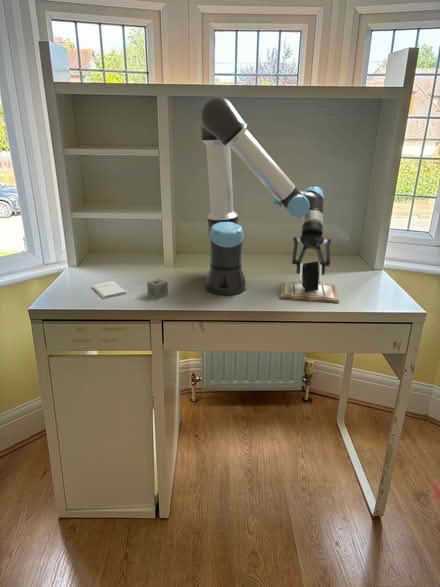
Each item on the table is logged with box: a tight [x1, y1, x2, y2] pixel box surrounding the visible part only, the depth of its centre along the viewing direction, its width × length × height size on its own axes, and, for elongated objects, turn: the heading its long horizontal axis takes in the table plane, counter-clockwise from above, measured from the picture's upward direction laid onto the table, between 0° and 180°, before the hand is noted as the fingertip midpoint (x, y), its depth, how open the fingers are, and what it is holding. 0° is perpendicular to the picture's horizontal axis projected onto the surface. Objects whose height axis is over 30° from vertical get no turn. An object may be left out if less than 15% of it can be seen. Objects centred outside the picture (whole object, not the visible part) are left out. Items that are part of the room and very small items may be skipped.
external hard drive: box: [91, 280, 127, 299], centre depth 151 cm, size 2×8×12 cm
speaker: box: [302, 260, 319, 292], centre depth 149 cm, size 8×6×10 cm
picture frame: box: [279, 280, 340, 304], centre depth 152 cm, size 20×15×1 cm
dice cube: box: [146, 278, 169, 300], centre depth 147 cm, size 5×5×5 cm
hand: (310, 282), depth 147 cm, fingers closed on speaker, 6 cm apart
